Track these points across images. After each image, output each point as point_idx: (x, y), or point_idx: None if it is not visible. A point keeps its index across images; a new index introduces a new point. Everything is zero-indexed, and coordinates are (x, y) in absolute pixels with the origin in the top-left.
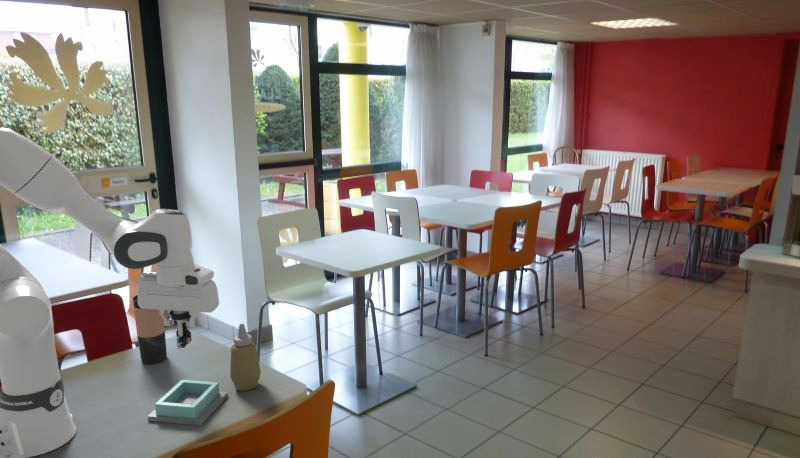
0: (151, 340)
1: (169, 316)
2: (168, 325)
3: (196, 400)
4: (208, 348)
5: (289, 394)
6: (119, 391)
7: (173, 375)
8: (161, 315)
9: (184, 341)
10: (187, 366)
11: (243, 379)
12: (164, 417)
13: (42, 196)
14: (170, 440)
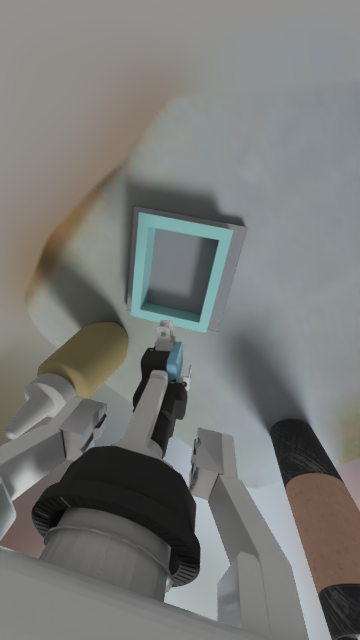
0: (306, 464)
1: (213, 509)
2: (212, 433)
3: (145, 244)
4: None
5: (39, 306)
6: (332, 340)
7: (242, 381)
8: (267, 530)
9: (146, 352)
10: (227, 404)
11: (92, 324)
12: (210, 221)
13: None
14: (176, 146)
